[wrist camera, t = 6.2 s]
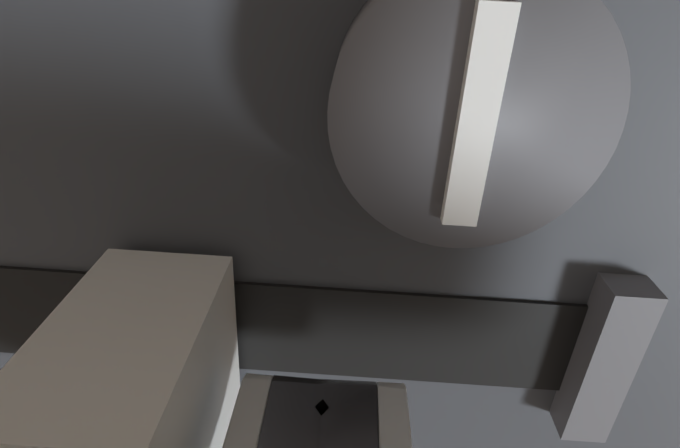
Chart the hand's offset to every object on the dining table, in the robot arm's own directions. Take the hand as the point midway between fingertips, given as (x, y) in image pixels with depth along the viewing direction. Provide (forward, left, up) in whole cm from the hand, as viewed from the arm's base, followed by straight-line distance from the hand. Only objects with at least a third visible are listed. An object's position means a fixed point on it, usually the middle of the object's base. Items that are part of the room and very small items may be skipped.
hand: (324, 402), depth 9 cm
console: (0, -4, -5) cm, 7 cm away
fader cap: (0, -3, -2) cm, 4 cm away
